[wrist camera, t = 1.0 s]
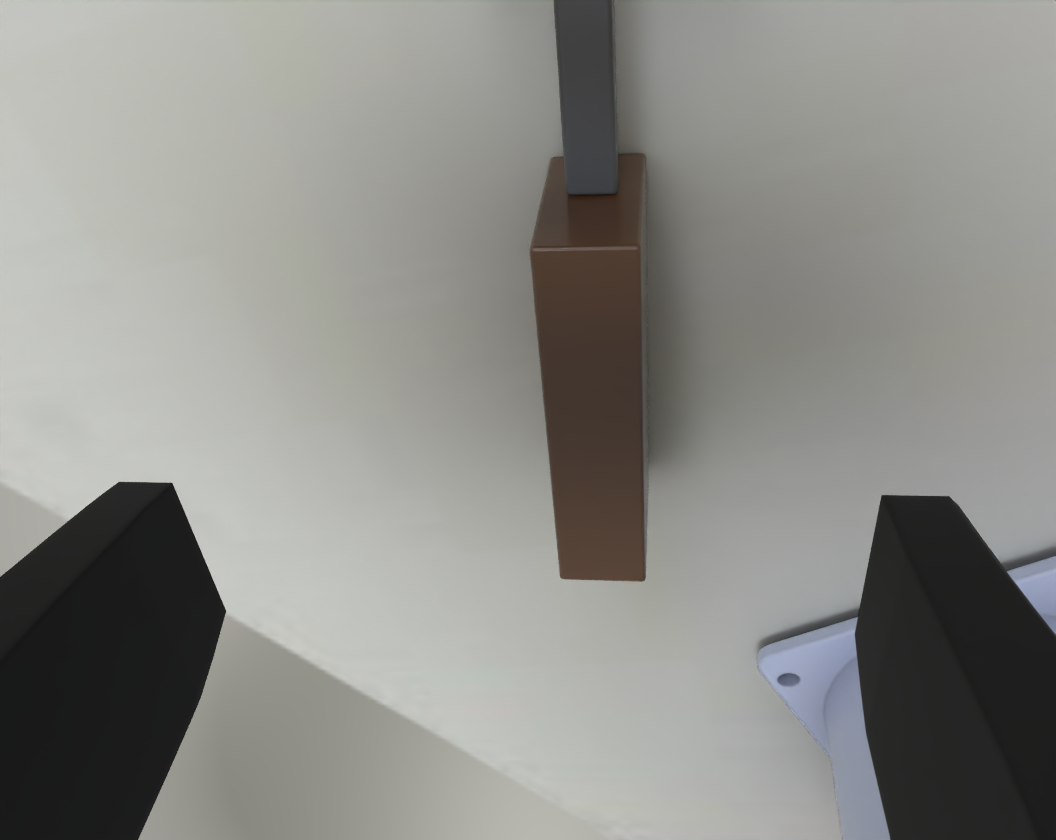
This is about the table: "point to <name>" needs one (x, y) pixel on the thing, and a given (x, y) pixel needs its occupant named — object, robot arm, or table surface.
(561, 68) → the fork
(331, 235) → the table surface
